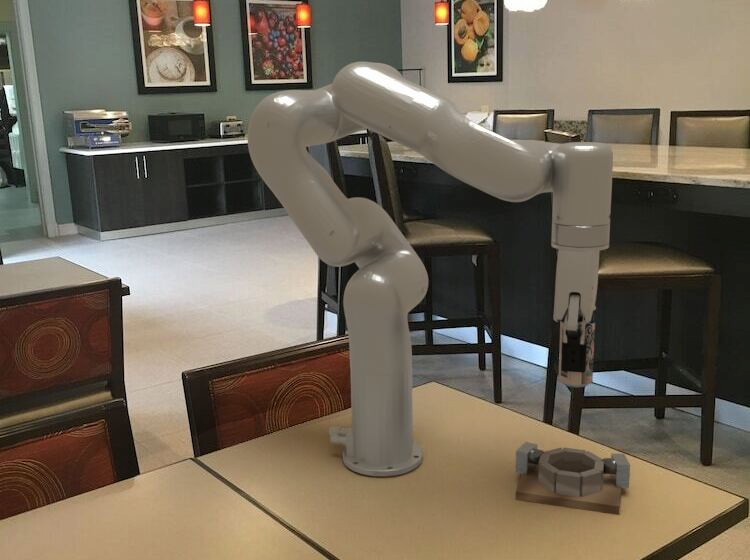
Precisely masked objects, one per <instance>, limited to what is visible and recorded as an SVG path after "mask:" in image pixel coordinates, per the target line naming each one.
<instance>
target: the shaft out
mask: <svg viewBox="0 0 750 560" xmlns="http://www.w3.org/2000/svg"><path fill="white" fill-rule="evenodd" d="M625 454H626V453H611V454H610V457H611V458H610V457H608V458H607V457H605V458H604V457H603V458H602V459H603V461H604V474H610V476H611V478H612V480H613V482H614V485H615V487H616V488H621V489H622V488H623V489H624V488H626V489H628V488H630V475H631V474H630V472H631V464H630V462H629V460H628V458H627V457H626V455H625Z"/></svg>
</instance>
